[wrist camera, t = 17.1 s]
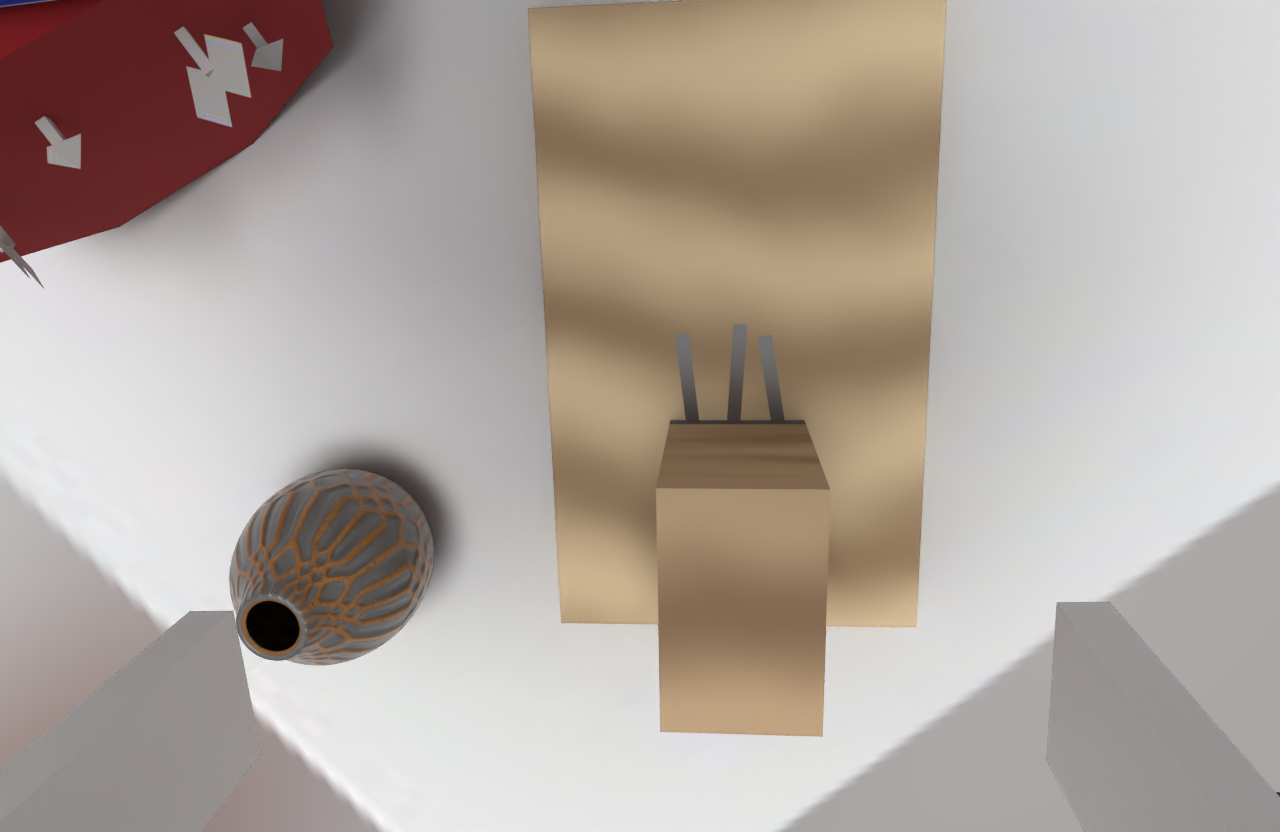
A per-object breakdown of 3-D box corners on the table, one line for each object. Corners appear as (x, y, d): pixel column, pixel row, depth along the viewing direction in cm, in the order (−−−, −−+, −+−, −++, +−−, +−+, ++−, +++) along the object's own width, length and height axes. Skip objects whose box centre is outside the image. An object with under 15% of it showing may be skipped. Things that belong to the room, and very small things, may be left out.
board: (535, 15, 32) (528, 8, 31) (938, -5, 31) (947, -12, 30) (566, 609, 38) (561, 623, 36) (909, 613, 36) (916, 627, 35)
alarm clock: (295, -134, 32) (-370, -647, 12) (445, 78, 33) (57, -84, 14) (11, 124, 35) (-882, 37, 15) (158, 309, 36) (-493, 445, 17)
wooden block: (670, 420, 34) (656, 488, 26) (804, 420, 34) (830, 489, 26) (672, 614, 36) (660, 731, 28) (799, 617, 36) (822, 736, 28)
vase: (483, 566, 38) (414, 675, 29) (346, 630, 39) (241, 753, 30) (399, 421, 36) (302, 491, 28) (260, 492, 38) (126, 580, 29)
